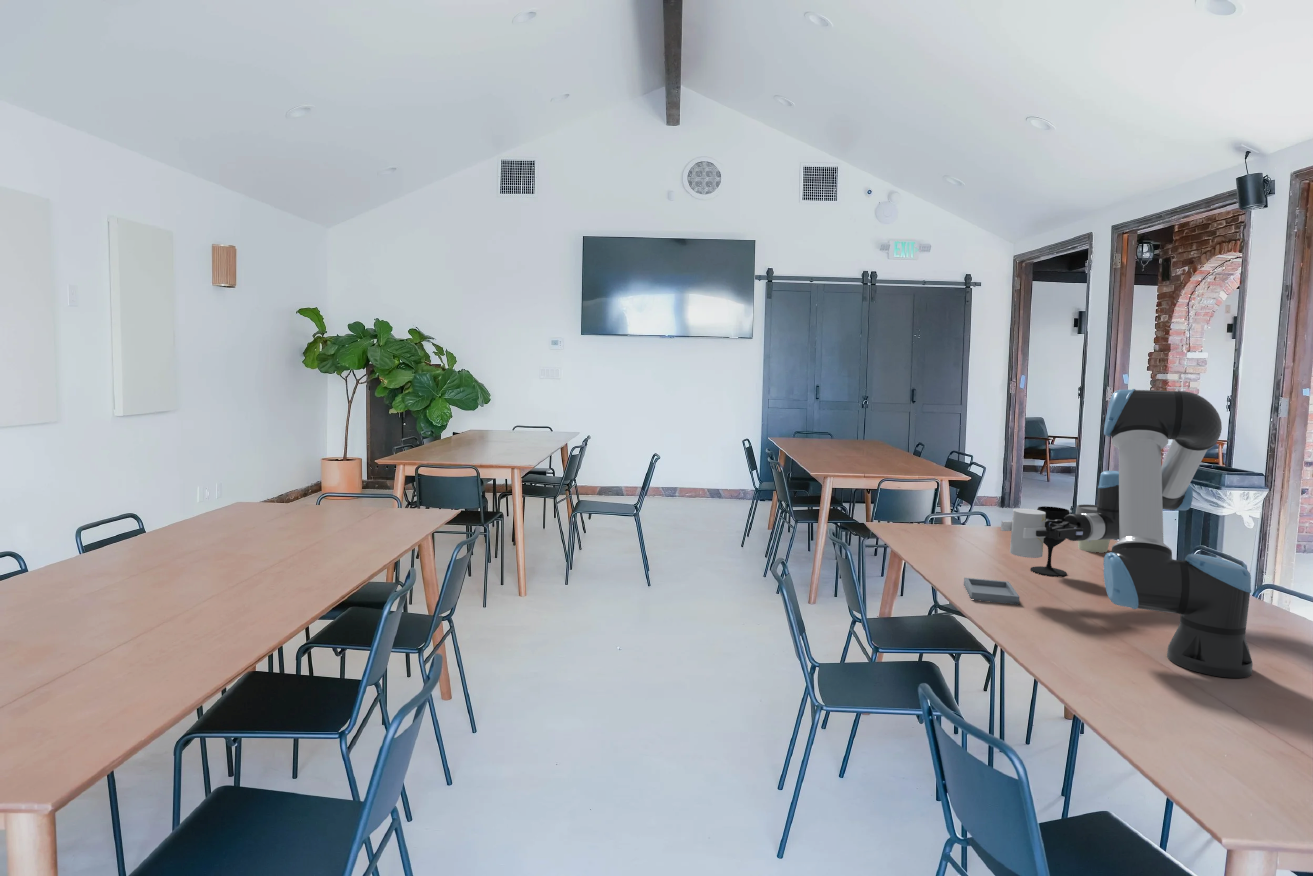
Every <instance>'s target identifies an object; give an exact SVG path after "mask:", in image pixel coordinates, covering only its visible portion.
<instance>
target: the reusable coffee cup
mask: <svg viewBox="0 0 1313 876" xmlns="http://www.w3.org/2000/svg"><path fill="white" fill-rule="evenodd" d="M1085 513H1097V504H1077V505H1076V510H1075V514H1085ZM1110 542H1111V540H1091V542H1088V541H1087V540H1083V541H1077V544H1078V545H1077V546H1078V547H1077V548H1078V549H1079V550H1081V551H1085V552H1088V553H1096V552H1099V553H1102V554H1104V552H1105V553H1108V550H1109V545H1110Z"/></svg>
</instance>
